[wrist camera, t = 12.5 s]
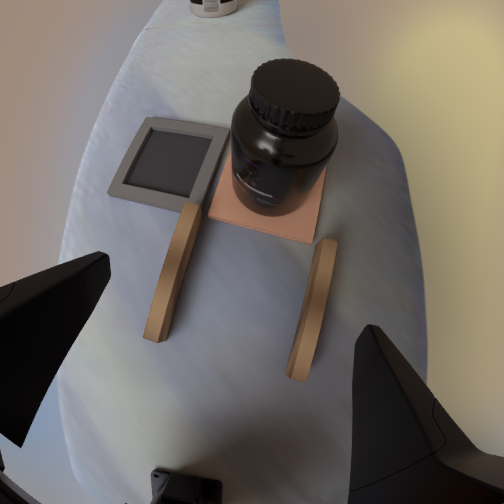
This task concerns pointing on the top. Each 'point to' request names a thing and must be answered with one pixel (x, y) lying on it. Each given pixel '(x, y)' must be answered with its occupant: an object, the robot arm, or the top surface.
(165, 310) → the channel
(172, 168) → the trap pit
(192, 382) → the top surface
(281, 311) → the top surface
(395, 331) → the top surface
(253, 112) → the supplement bottle
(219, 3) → the supplement can
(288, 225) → the pad
